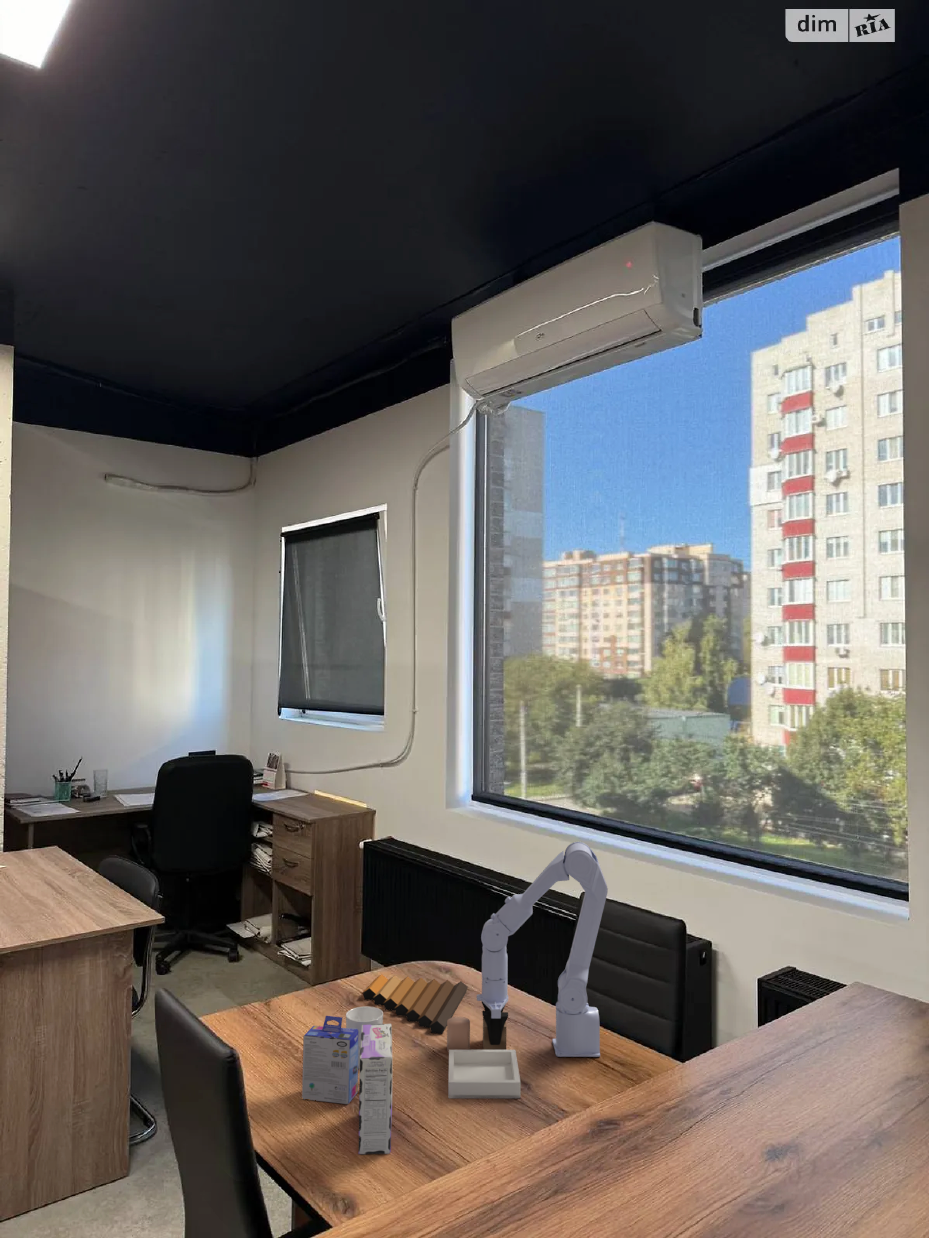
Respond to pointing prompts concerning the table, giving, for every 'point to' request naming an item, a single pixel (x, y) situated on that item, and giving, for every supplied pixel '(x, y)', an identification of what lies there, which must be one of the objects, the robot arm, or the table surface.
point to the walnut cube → (487, 1043)
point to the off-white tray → (483, 1074)
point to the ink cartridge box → (330, 1063)
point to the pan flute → (418, 999)
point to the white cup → (363, 1020)
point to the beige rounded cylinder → (458, 1033)
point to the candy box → (375, 1089)
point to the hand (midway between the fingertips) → (494, 1038)
